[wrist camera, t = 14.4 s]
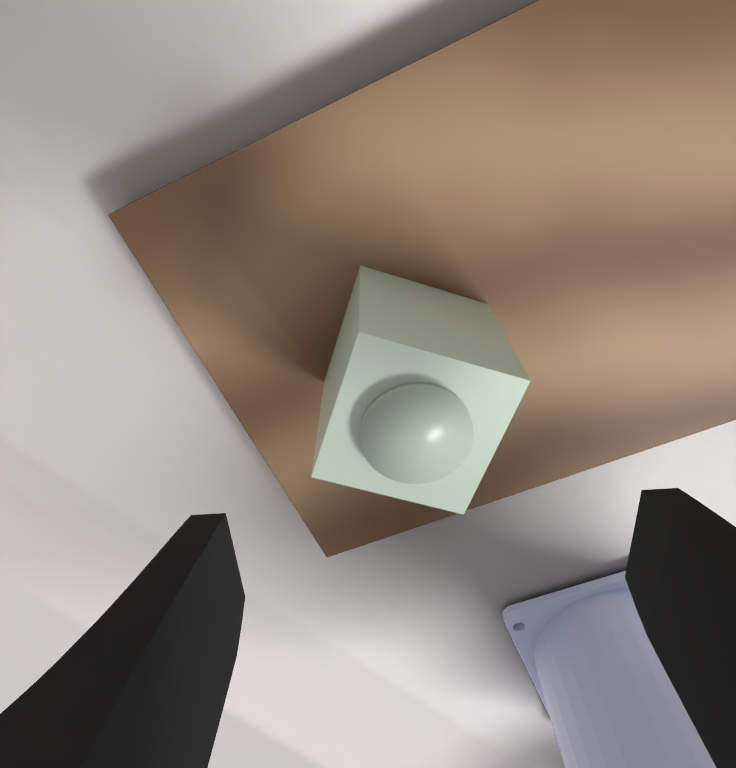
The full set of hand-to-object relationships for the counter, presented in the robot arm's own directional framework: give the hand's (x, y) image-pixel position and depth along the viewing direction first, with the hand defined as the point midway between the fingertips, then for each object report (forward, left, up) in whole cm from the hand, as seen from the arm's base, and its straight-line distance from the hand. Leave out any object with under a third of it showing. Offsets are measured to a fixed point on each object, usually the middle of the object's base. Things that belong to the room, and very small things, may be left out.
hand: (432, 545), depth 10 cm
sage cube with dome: (0, 0, -9) cm, 9 cm away
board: (0, -4, -10) cm, 11 cm away
